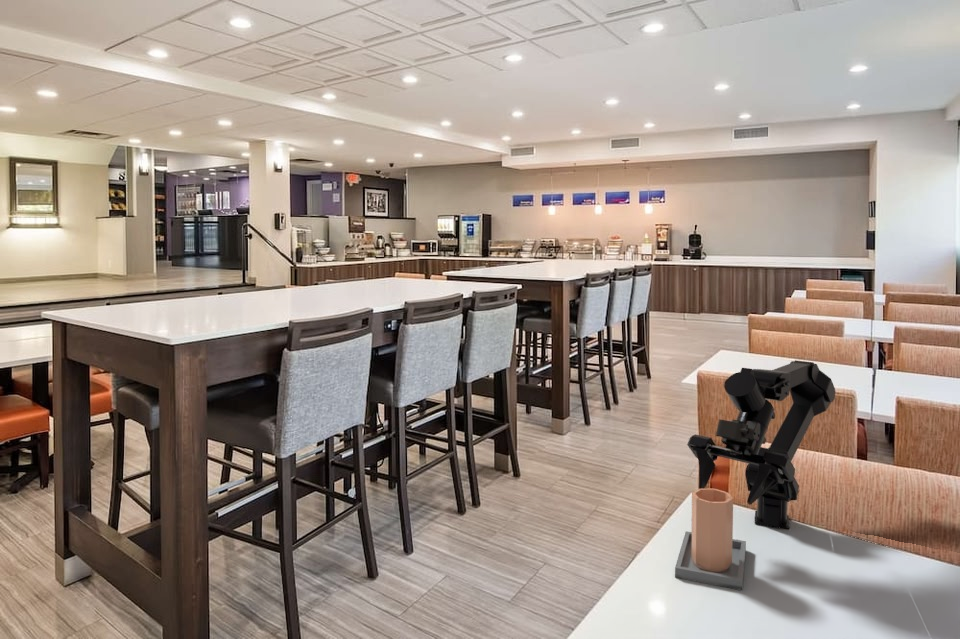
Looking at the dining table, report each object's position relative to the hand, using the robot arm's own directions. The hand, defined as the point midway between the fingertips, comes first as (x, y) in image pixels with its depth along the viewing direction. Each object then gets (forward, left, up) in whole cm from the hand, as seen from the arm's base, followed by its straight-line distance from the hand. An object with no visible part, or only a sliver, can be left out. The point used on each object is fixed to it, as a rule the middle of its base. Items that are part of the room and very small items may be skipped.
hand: (724, 496), depth 113 cm
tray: (+3, -2, -12) cm, 13 cm away
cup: (+4, -2, -11) cm, 12 cm away
